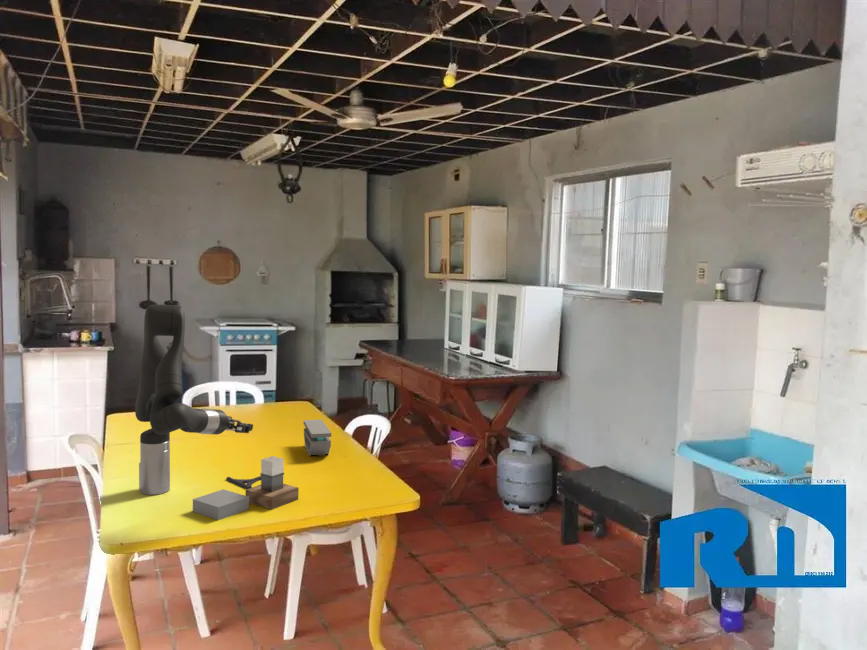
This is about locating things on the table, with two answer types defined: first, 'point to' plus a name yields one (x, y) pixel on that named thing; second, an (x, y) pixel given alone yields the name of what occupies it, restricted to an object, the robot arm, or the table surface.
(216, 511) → the stand
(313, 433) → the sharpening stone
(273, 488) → the block
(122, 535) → the table surface
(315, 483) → the table surface
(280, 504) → the stand
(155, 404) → the robot arm
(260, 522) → the table surface
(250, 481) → the bracket
